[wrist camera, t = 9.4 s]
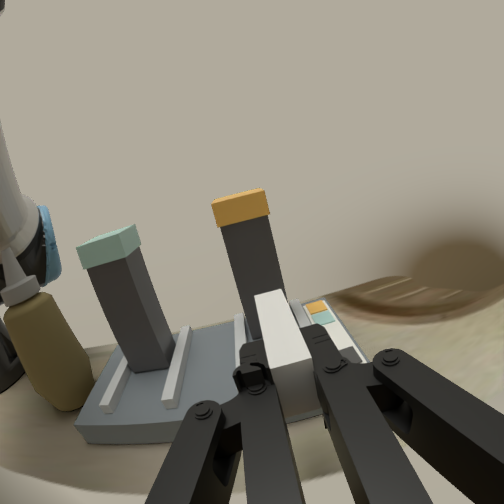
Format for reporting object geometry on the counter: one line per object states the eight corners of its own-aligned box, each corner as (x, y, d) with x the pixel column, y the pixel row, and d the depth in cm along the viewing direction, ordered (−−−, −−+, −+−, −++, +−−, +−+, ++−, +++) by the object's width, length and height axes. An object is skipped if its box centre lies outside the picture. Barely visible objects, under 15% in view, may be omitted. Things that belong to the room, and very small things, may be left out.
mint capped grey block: (131, 374, 25) (75, 247, 22) (141, 350, 30) (96, 236, 26) (171, 368, 25) (118, 233, 22) (178, 343, 30) (135, 223, 26)
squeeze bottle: (56, 384, 29) (-5, 254, 24) (106, 370, 31) (47, 231, 27) (43, 423, 22) (-39, 270, 17) (101, 411, 24) (19, 242, 19)
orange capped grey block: (250, 340, 27) (211, 204, 24) (247, 319, 31) (214, 199, 28) (295, 328, 27) (264, 190, 24) (287, 309, 31) (259, 187, 28)
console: (88, 443, 19) (67, 416, 18) (125, 361, 33) (114, 338, 32) (376, 395, 19) (376, 361, 18) (327, 316, 33) (323, 289, 32)
